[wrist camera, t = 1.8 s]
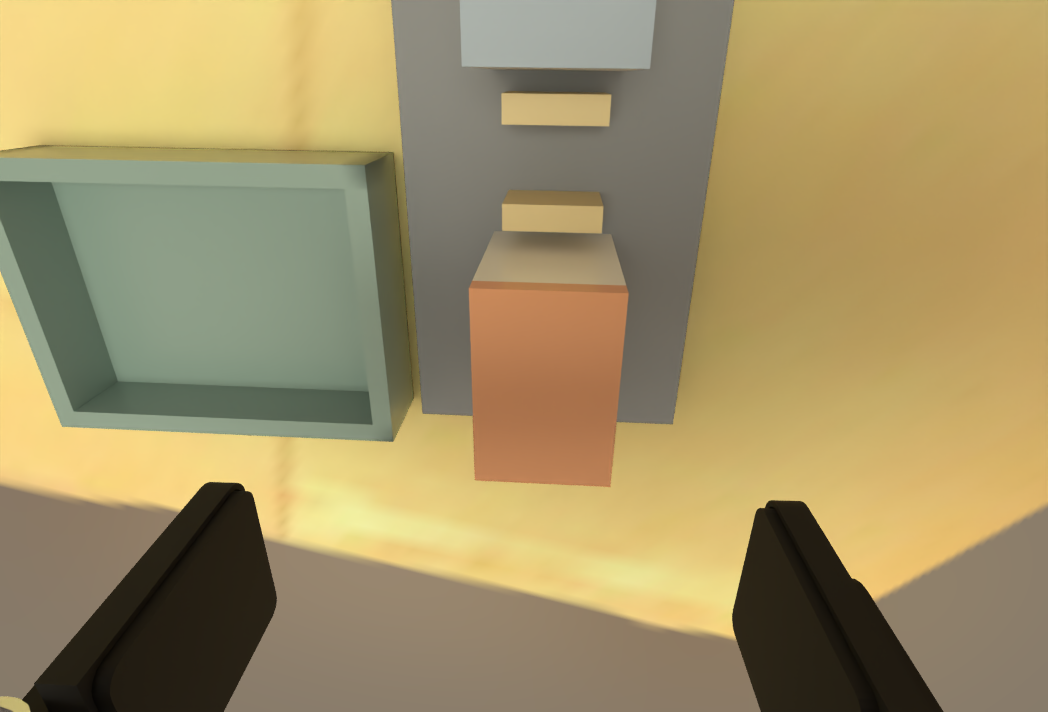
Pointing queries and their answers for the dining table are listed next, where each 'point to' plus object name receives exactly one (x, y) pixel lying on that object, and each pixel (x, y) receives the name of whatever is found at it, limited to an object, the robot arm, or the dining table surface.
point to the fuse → (546, 357)
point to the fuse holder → (558, 162)
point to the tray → (211, 288)
